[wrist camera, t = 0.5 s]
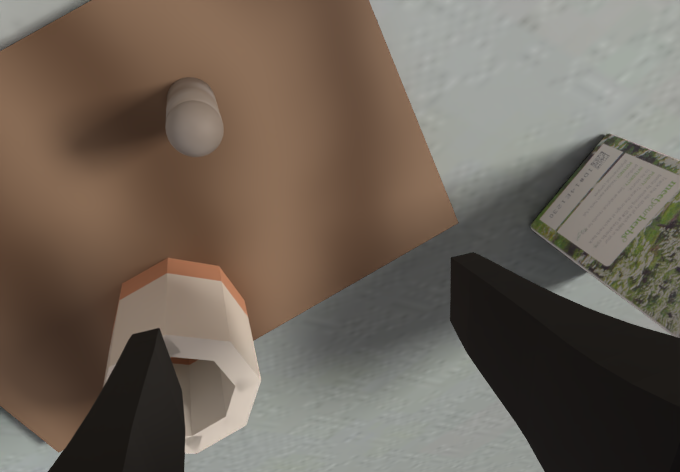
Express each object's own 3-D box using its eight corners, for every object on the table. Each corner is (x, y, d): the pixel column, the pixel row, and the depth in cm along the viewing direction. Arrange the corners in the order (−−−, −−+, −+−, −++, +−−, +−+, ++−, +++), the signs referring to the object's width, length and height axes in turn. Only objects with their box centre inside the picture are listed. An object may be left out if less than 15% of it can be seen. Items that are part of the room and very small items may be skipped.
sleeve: (163, 379, 23) (161, 474, 19) (90, 301, 21) (67, 390, 16) (261, 323, 23) (281, 404, 19) (199, 239, 21) (206, 311, 16)
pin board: (62, 435, 24) (36, 547, 20) (-240, 185, 17) (-394, 268, 12) (448, 213, 24) (513, 272, 20) (310, -122, 17) (360, -154, 13)
